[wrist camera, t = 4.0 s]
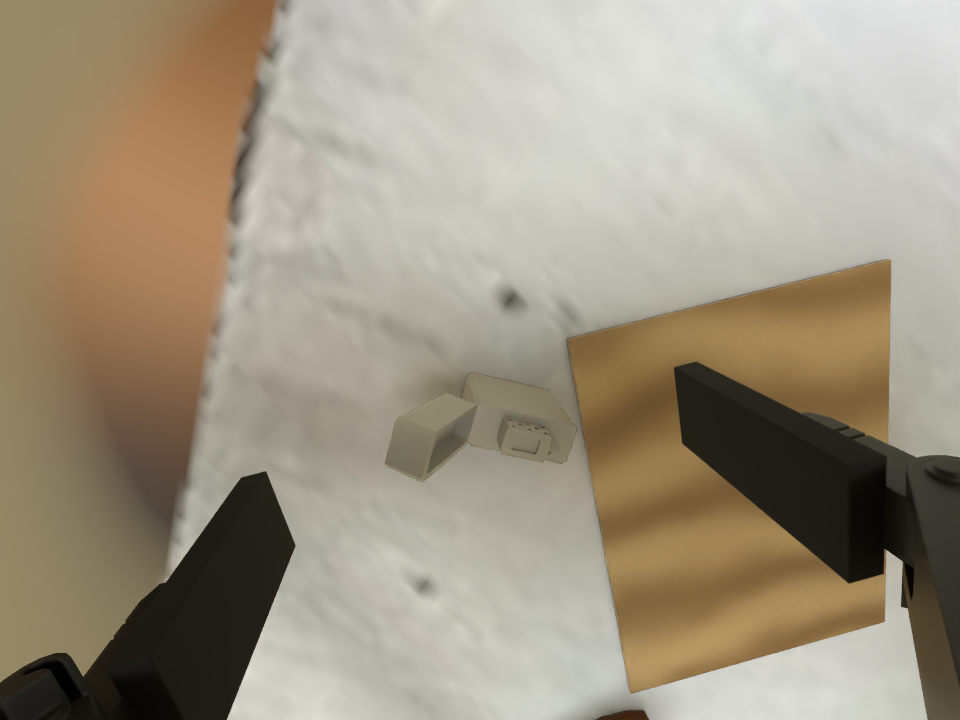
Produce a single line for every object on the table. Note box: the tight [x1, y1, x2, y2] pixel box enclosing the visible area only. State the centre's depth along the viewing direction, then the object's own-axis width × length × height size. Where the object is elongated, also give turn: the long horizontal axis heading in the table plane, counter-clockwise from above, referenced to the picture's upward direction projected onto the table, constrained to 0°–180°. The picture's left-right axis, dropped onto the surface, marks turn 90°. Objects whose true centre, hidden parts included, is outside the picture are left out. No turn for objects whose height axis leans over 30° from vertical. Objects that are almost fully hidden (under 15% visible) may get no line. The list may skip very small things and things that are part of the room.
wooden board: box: [567, 260, 891, 694], centre depth 26 cm, size 22×16×1 cm
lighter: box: [385, 372, 577, 482], centre depth 19 cm, size 7×2×8 cm, turn 75°
